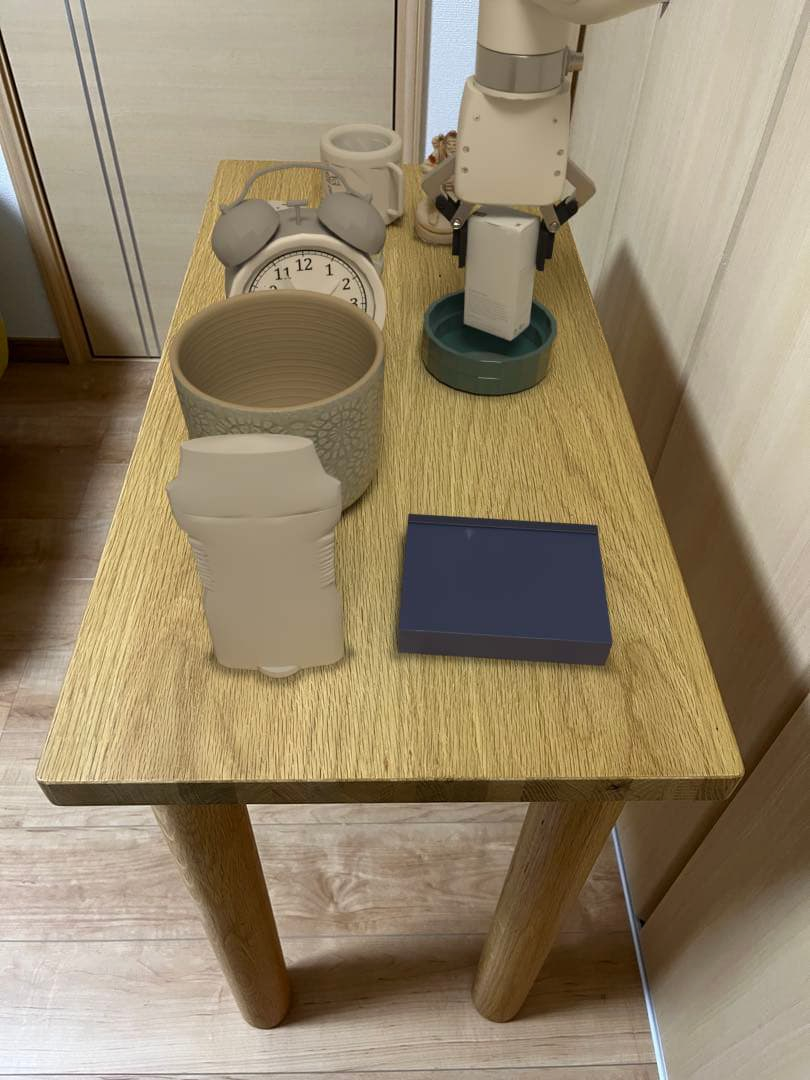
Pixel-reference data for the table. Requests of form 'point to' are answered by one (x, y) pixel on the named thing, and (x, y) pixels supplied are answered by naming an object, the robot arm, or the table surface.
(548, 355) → the bowl
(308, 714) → the table surface
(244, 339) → the planter
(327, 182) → the mug
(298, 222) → the alarm clock
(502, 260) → the cosmetic box
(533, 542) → the book
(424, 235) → the figurine
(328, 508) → the deodorant stick
